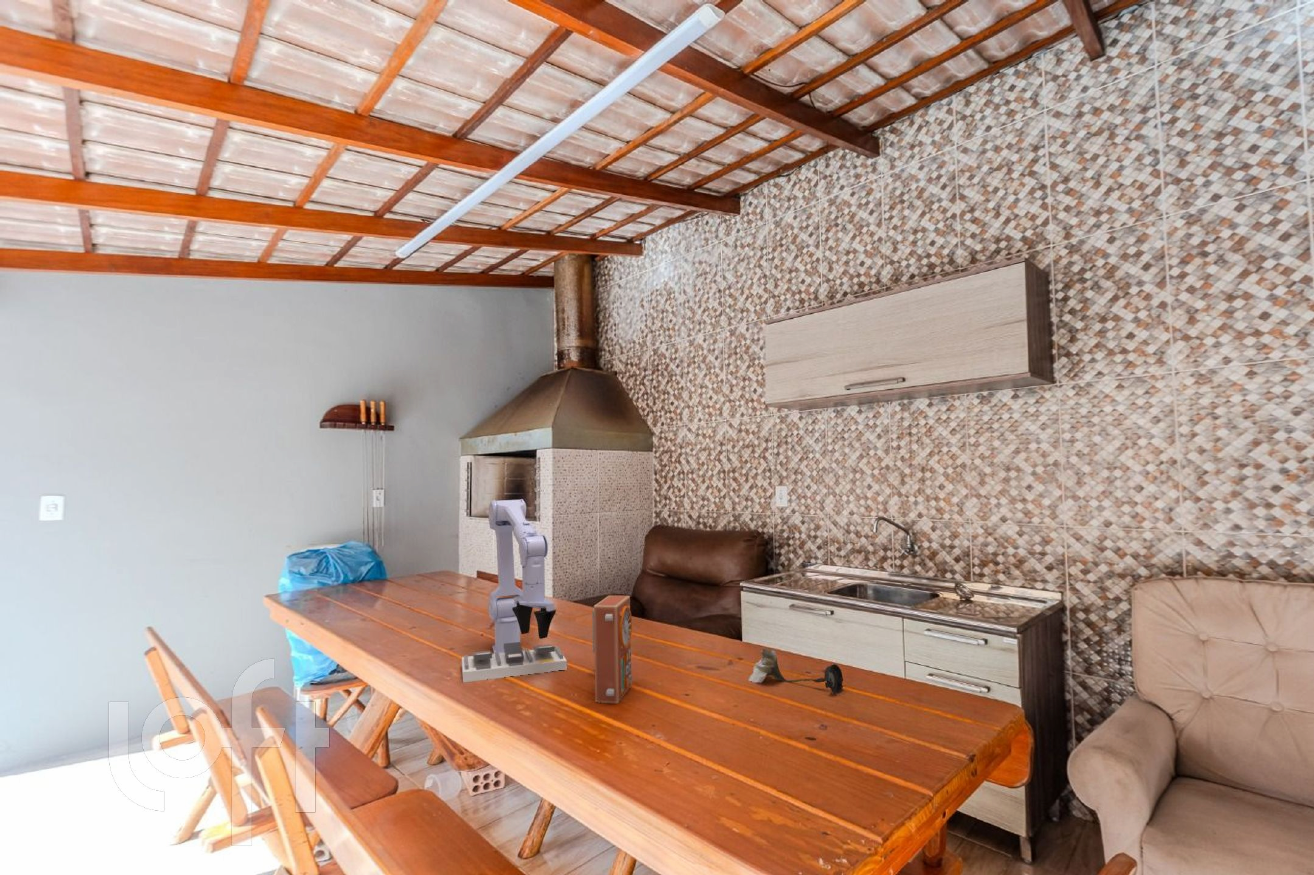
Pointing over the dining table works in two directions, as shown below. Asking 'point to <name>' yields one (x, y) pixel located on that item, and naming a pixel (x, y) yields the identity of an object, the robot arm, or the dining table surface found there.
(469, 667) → the switch board
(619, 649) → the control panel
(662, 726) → the dining table surface
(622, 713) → the dining table surface
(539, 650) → the block
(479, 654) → the rocker
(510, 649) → the middle rocker
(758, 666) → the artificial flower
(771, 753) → the dining table surface
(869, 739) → the dining table surface
